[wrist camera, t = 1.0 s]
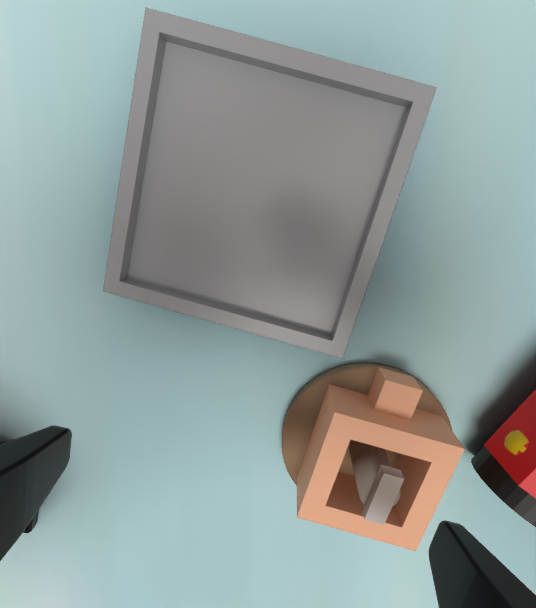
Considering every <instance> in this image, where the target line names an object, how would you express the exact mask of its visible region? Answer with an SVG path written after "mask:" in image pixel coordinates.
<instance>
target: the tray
mask: <svg viewBox="0 0 536 608" xmlns="http://www.w3.org/2000/svg"><path fill="white" fill-rule="evenodd" d="M436 89H437V87H434V86H430V85H427V84H423V83H419V82H416V81H412V80H408V79H405V78H401V77H397V76H394V75H390V74H387V73H383V72H379V71H376V70H372V69H368V68H365V67H361V66H357V65H354V64H350V63H346V62H343V61H339V60H335V59H332V58H328V57H325V56H321V55H317V54H314V53H310V52H306V51H303V50H299V49H295V48H292V47H288V46H284V45H281V44H277V43H274V42H270V41H266V40H263V39H259V38H255V37H252V36H248V35H244V34H241V33H237V32H233V31H230V30H226V29H222V28H219V27H215V26H212V25H208V24H204V23H201V22H197V21H193V20H190V19H186V18H182V17H179V16H175V15H171V14H168V13H164V12H160V11H157V10H153V9H150V8H145V14H144V21H143V28H142V34H141V41H140V48H139V54H138V61H137V68H136V74H135V81H134V88H133V94H132V101H131V108H130V114H129V121H128V128H127V134H126V141H125V148H124V154H123V161H122V168H121V174H120V181H119V188H118V194H117V201H116V207H115V214H114V221H113V227H112V234H111V241H110V247H109V254H108V261H107V267H106V274H105V281H104V287H103V291H104V292H108V293H111V294H115V295H118V296H122V297H125V298H129V299H133V300H136V301H140V302H143V303H147V304H150V305H154V306H157V307H161V308H165V309H168V310H172V311H175V312H179V313H182V314H186V315H190V316H193V317H197V318H200V319H204V320H207V321H211V322H214V323H218V324H222V325H225V326H229V327H232V328H236V329H239V330H243V331H247V332H250V333H254V334H257V335H261V336H264V337H268V338H271V339H275V340H279V341H282V342H286V343H289V344H293V345H296V346H300V347H304V348H307V349H311V350H314V351H318V352H321V353H325V354H328V355H332V356H336V357H339V358H343V355H344V352H345V349H346V346H347V343H348V341H349V338H350V335H351V332H352V329H353V326H354V323H355V321H356V318H357V315H358V312H359V309H360V306H361V303H362V300H363V298H364V295H365V292H366V289H367V286H368V283H369V280H370V278H371V275H372V272H373V269H374V266H375V263H376V260H377V258H378V255H379V252H380V249H381V246H382V243H383V240H384V237H385V235H386V232H387V229H388V226H389V223H390V220H391V217H392V215H393V212H394V209H395V206H396V203H397V200H398V197H399V195H400V192H401V189H402V186H403V183H404V180H405V177H406V174H407V172H408V169H409V166H410V163H411V160H412V157H413V154H414V152H415V149H416V146H417V143H418V140H419V137H420V134H421V132H422V129H423V126H424V123H425V120H426V117H427V114H428V111H429V109H430V106H431V103H432V100H433V97H434V94H435V91H436Z"/></svg>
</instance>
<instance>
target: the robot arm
mask: <svg viewBox="0 0 536 608" xmlns="http://www.w3.org/2000/svg"><path fill="white" fill-rule="evenodd" d="M71 437H72V433H71V430H70V429H68V428H64V427H60V426H50V427H47V428H45V429H42V430H39V431H36V432H34V433H31V434H28V435H26V436H23V437H20V438H17V439H15V440H12V441H9V442H7V443H4V444H1V443H0V561H1V560H2V558H3V557H4V556H5V555H6V553H7V552H8V551H9V549H10V548H11V547H12V546H13V544H14V543H15V542H16V541H17V539H18V538H19V537H20V535H21V534H22V533H23V532H24V533H29V532H31V531H32V529H33V528H34V527H35V525H36V519H37V511H38V509H39V508H40V506H41V505H42V503H43V502H44V500H45V499H46V497H47V496H48V494H49V493H50V491H51V490H52V488H53V487H54V485H55V484H56V482H57V481H58V479H59V478H60V476H61V475H62V473H63V471H64V470H65V468H66V466H67V464H68V462H69V458H70V448H71ZM429 560H430V565H431V570H432V575H433V580H434V585H435V590H436V595H437V600H438V605H439V608H536V595H535V594H534V593H533V592H532V591H531V590H529V589H528V588H527V587H526V586H525V585H524V584H523V583H522V582H521V581H520V580H519V579H518V578H517V577H516V576H515V575H514V574H513V573H512V572H511V571H509V570H508V569H507V568H506V567H505V566H504V565H503V564H502V563H501V562H500V561H499V560H498V559H497V558H496V557H495V556H494V555H493V554H492V553H490V552H489V551H488V550H487V549H486V548H485V547H484V546H483V545H482V544H481V543H480V542H479V541H478V540H477V539H476V538H475V537H474V536H473V535H472V534H470V533H469V532H468V531H467V530H466V529H465V528H464V527H463V526H462V525H460V524H458V523H453V522H449V521H442V522H441V523H440V524H439V526H438V528H437V530H436V533H435V535H434V537H433V540H432V542H431V544H430V547H429Z"/></svg>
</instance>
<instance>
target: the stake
mask: <svg viewBox="0 0 536 608" xmlns="http://www.w3.org/2000/svg"><path fill="white" fill-rule="evenodd" d="M378 367H380V368H383V369H387V370H390V371H394V372H398V373H401V374H405V375H408V376H412V375H410V374H408V373H406V372H404V371H402V370H400V369H397V368H394V367H391V366H387V365H383V364H376V363H355V364H348V365H343V366H340V367H336V368H333V369H331V370H329V371H326V372H324V373H322V374H320V375H319V376H317V377H315V378H314V379H313V380H311V381H310V382H309V383H307V384H306V385H305V386H304V387H303V388H302V389H301V390H300V391H299V392H298V394H297V395H296V396H295V398H294V399H293V401H292V402H291V404H290V406H289V408H288V410H287V413H286V415H285V419H284V423H283V433H282V454H283V458H284V463H285V465H286V468H287V471H288V473H289V475H290V476H291V478H292V480H293V481H294V483H295V484H296V485H297V476H298V473H299V470H300V467H301V464H302V461H303V458H304V455H305V452H306V450H307V447H308V444H309V441H310V438H311V435H312V432H313V429H314V426H315V424H316V421H317V418H318V415H319V412H320V409H321V406H322V403H323V400H324V398H325V395H326V392H327V389H328V386H329V384H330V385H334V386H337V387H341V388H345V389H348V390H352V391H355V392H359V393H362V394H366V395H368V394H369V391H370V388H371V386H372V383H373V380H374V378H375V375H376V372H377V370H378ZM412 377H413V376H412ZM414 379H415V380H416V382H417V383H418V384H419V386H420V387H421V388H422V390H423V392H422V394H421V397H420V399H419V401H418V404H417V406H416V409H419V410H423V411H426V412H430V413H433V414H437V415H441V417H442V418H443V420H444V421H445V422H446V424H447V425H448V426H449V428H450V429H451V431H452V428H451V424H450V421H449V419H448V416H447V414H446V412H445V410H444V409H443V407H442V406H441V404H440V403H439V401H438V400H437V399H436V397H435V396H434V395H433V394H432V393H431V391H430V390H429V389H428V388H427V387H426V386H425V385H424V384H423V383H422V382H421V381H419V380H418V379H416V378H415V377H414ZM400 456H401V454H400V453H397V452H393V451H390V450H386V449H383V448H379V447H376V446H372V445H369V444H365V443H362V442H358V441H354V440H350V442H349V445H348V447H347V450H346V453H345V455H344V458H343V461H342V463H341V466H340V468H339V471H338V472H341V473H345V474H348V475H352V476H355V479H356V483H357V488H358V492H359V496H360V499H361V501H362V503H363V504H364V506H363V509H362V512H363V516H364V520H367V521H371V522H374V523H378V524H381V525H384V524H385V522H386V520H387V517H388V515H389V513H390V511H391V508H392V507H393V506H394V505H395V504H396V503H397V502H398V500H399V498H400V488H401V486H402V483H403V481H404V477H403V474H402V472H401V470H399V469H395V468H396V465H397V463H398V461H399V458H400Z"/></svg>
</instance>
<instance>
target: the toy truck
mask: <svg viewBox="0 0 536 608" xmlns="http://www.w3.org/2000/svg"><path fill="white" fill-rule="evenodd" d="M471 462H472V465H473V467H474V469H475V470H476V472H477V473H478V475H479V476H480V477H481V479H482V480H483V481H484V482H485V483H486V485H487V486H488V487H489V488H490V489H491V490H492V491H493V492H494V493H495V494H496V495H497V496H498V497H499V498H500V499H501V500H502V501H503V502H505V503H506V504H507V505H508V506H509V507H510V508H511V509H512V510H514V511H515V512H516V513H517V514H519V515H520V516H521V517H522V518H524V519H525V520H526V521H528V522H529V523H531V524H532V525H533V526H535V527H536V389H535V390H534V391H533V392H532V393H531V394H530V396H529V397H528V398H527V399H526V400H525V401H524V402H523V403H522V404H521V405H520V406H519V407H518V408H517V409H516V411H515V412H514V413H513V414H512V415H511V416H510V417H509V418H508V419H507V420H506V421H505V422H504V423H503V425H502V426H501V427H500V428H499V429H498V430H497V431H496V432H495V433H494V434H493V435H492V436H491V437H490V438H489V440H488V441H487V442H486V443H485V444H484V446H483V447H482V448H481V449H480V450H479V451H478V452H477V453H476V455H475V456H474V457H473V458H472V459H471Z"/></svg>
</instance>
